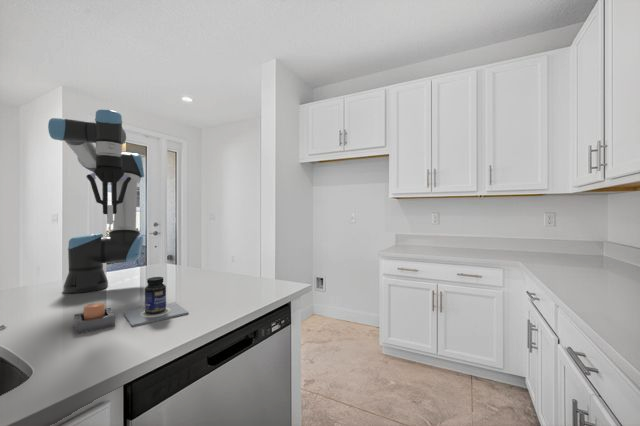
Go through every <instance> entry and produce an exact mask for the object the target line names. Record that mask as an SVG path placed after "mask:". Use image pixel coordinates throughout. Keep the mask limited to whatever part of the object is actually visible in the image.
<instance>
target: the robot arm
mask: <svg viewBox="0 0 640 426" xmlns="http://www.w3.org/2000/svg"><path fill="white" fill-rule="evenodd" d="M47 124H48V125H47V128H48V129H47V130H48V134H49V136H50V138H51V139H53V140H55V141H56V140H57V141H62V142H63V141H64V142H65V143H66V144H67V146H68V147H69V148H70V150H72V151H73V153H74V154H75V155H76V157H77V161H78V162H79V164H80V165H81V166H82V167H83V168H85V169H86V170H88V171H90V172H92V173H89V174H87V175H86V179H87V180H88V181H89V183H90V186H91V189H92V192H93V196H94V199H95V202H96V203H97V204H100V205H102V213H103V215H106V224H107V225H113V229H111V230H110V231H109V233H108V235H107V236H104V235H103V233H101V232H100V233H93V234H92V233H91V234H84V235H78V236H73V237H71V238H70V239H69V240H68V246H67V247H68V248H67V250H68V251H67V252H68V256H67V257H68V259H67V260H68V272H67V273H68V274H67V276H66V279H65V281H64V284H63V287H62V289H63V291H62V292H63V293H65V294H81V293H82V294H83V293H91V292H95V291H99V290H102V289H105V288H107V287H108V286H109V281H108V278H107V275H106V274H105V271H104V264H111V263H125V262H126V263H129V262H135V261H138V260H139V259H140V257H141V255H142V250H143V245H144V244H143V242H144V236H143V235H142V234H140V231H139V230H138V229H137V199H138V198H137V196H138V195H137V194H138V193H137V192H138V183H140V182H141V181H142V178H145V172H144V166H143V165H144V164H143V159H142V156H141V154H140V153H132V152H123V145H124V144H125V143H126V141H127V135H126V134H127V133H126V131H125V130H124V128H123V117H122V114H121V113H120V112H118V111H115V110H112V109H103V108H102V109H97V110H96V111H95V119H94V121H86V120H79V119H71V118H70V119H69V118H64V117H62V118H60V117H59V118H57V117H52V118H49V120H48V123H47ZM94 144H95V145H94ZM96 178H98V179H99V180H100V181H101V185H102V190H101V191H102V199H101V195H100V192H99V189H98V186H97V182H96ZM109 183H110V186H111V187H110V188H111V189H110V190H111V191H110V192H111V195H110V196H111V204H109V202H108V201H109V197H108V196H109V194H108V193H109V190H108V185H109Z"/></svg>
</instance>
